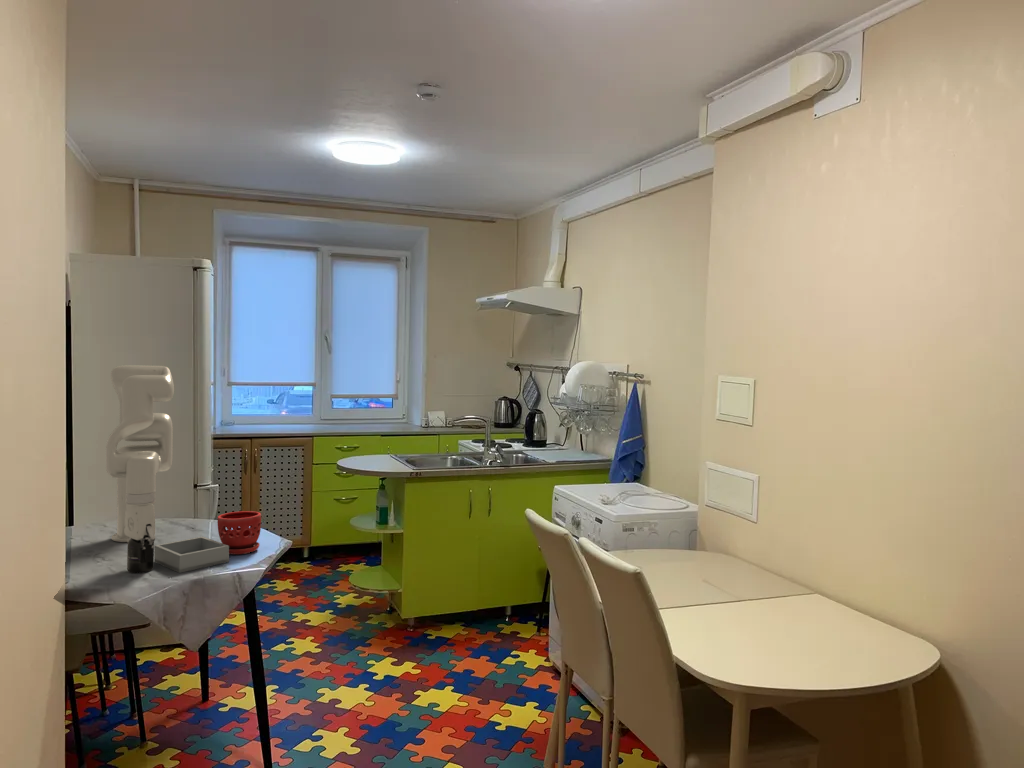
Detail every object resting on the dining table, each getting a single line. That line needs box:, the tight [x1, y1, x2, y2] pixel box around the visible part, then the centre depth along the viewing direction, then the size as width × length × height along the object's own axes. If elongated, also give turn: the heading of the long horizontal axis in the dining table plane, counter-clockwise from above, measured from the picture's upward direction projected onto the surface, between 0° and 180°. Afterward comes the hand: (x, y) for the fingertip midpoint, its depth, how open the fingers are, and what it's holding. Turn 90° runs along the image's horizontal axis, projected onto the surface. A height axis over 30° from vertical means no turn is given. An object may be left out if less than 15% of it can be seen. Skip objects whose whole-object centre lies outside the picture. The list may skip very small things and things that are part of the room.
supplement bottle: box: [126, 536, 155, 574], centre depth 203 cm, size 7×7×12 cm
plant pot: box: [217, 510, 262, 555], centre depth 225 cm, size 13×13×12 cm
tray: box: [154, 536, 230, 574], centre depth 213 cm, size 16×15×5 cm
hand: (140, 558), depth 203 cm, fingers closed on supplement bottle, 6 cm apart
